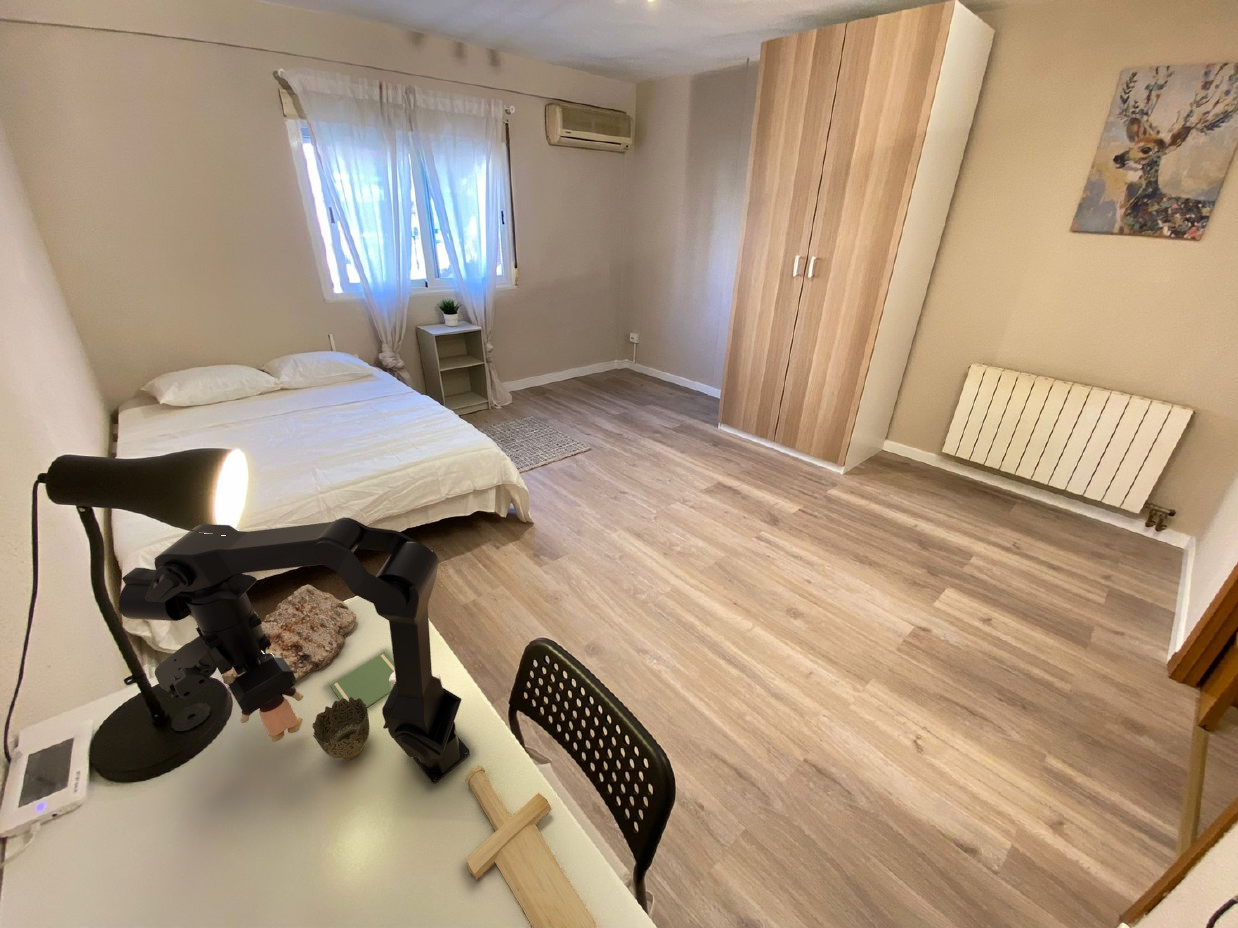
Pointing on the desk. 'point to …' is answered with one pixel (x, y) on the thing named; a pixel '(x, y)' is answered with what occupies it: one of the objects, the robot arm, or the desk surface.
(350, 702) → the cup
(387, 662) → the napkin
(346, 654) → the desk surface
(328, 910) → the desk surface
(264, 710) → the grandmother figurine
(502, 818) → the toy sword
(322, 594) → the stone
